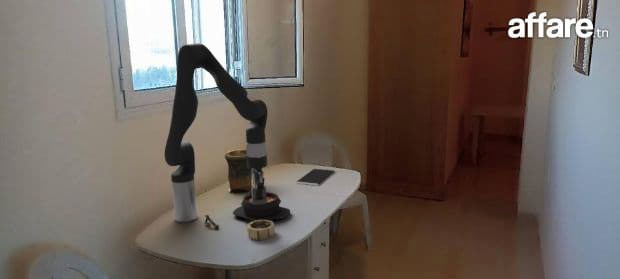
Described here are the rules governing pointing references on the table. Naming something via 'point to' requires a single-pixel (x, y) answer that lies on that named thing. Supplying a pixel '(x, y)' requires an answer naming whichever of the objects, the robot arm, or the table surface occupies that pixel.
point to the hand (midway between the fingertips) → (259, 198)
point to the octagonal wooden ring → (260, 229)
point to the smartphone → (315, 177)
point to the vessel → (239, 172)
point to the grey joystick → (254, 197)
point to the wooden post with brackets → (210, 222)
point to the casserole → (262, 209)
